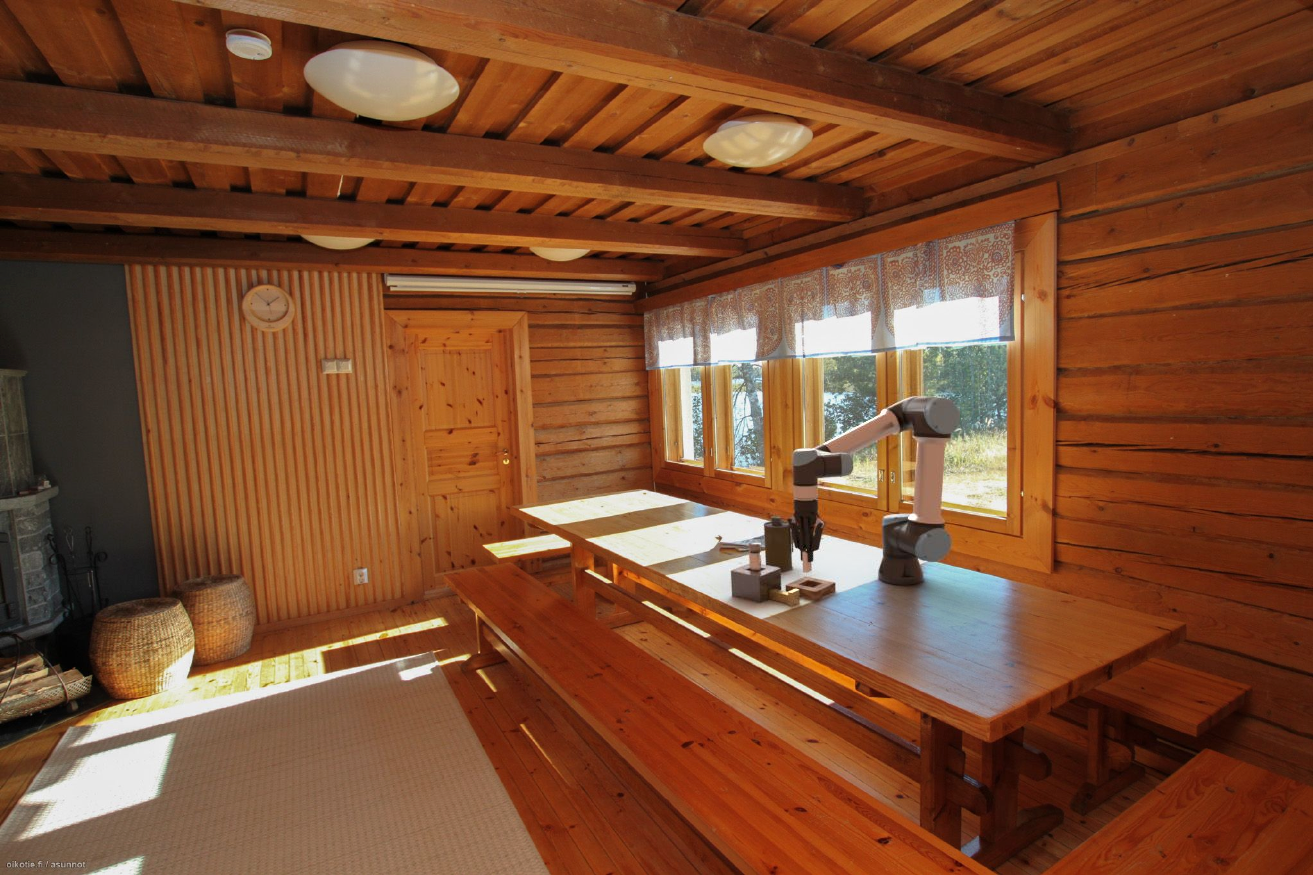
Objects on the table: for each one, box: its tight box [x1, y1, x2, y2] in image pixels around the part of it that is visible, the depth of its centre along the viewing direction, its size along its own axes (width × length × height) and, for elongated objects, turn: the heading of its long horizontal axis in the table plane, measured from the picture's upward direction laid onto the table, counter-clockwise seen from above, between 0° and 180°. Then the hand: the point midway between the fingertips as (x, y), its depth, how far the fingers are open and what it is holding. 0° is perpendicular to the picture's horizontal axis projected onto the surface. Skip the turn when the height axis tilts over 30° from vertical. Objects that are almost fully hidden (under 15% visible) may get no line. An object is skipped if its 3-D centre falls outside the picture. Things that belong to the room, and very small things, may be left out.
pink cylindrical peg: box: [748, 541, 762, 572], centre depth 231 cm, size 4×4×14 cm
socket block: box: [730, 563, 782, 604], centre depth 232 cm, size 12×12×9 cm
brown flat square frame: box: [784, 576, 836, 602], centre depth 232 cm, size 12×12×3 cm
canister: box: [763, 515, 794, 573], centre depth 261 cm, size 11×10×20 cm
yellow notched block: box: [768, 588, 801, 607], centre depth 225 cm, size 12×4×4 cm, turn 44°
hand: (807, 571), depth 216 cm, fingers closed
